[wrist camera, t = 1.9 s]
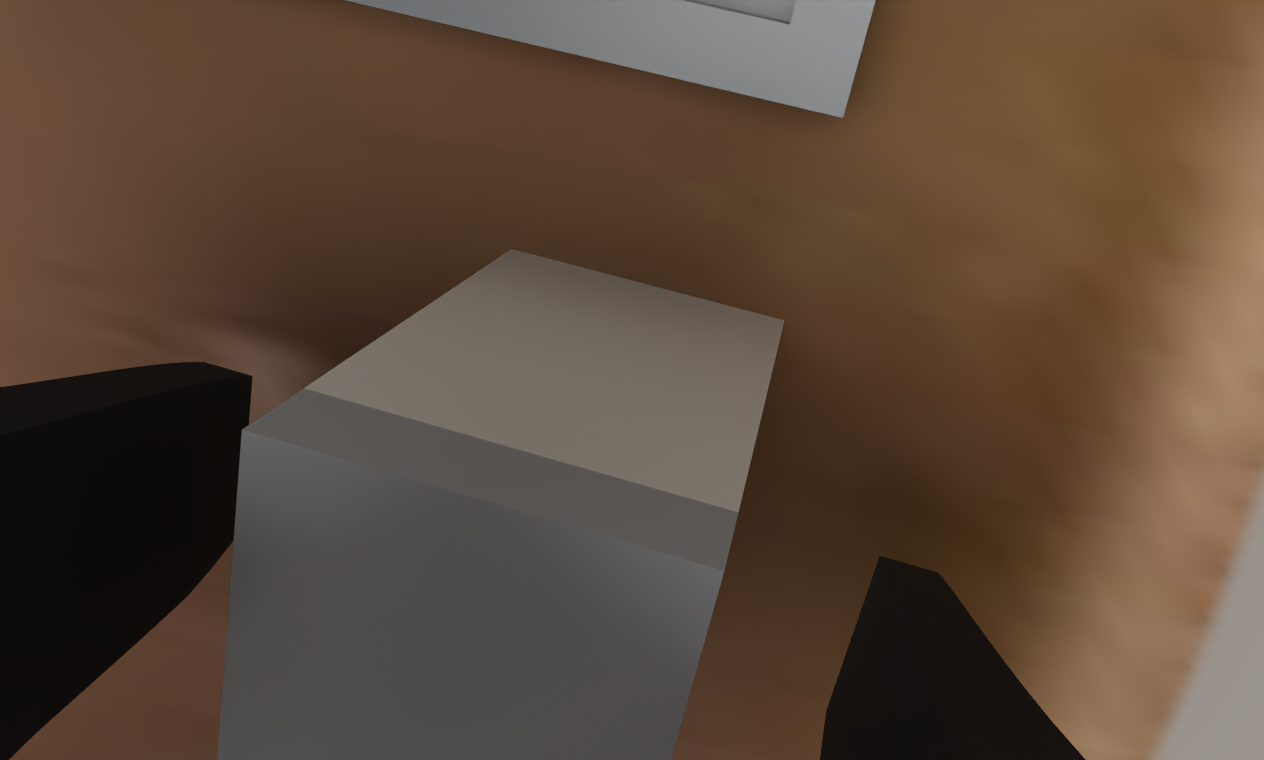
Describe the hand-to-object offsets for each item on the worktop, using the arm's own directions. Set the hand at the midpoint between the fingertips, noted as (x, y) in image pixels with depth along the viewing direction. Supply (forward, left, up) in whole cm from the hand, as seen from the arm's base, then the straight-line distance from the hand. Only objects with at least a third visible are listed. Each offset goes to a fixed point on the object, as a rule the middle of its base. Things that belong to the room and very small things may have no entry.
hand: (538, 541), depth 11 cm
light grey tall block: (0, 0, -4) cm, 4 cm away
